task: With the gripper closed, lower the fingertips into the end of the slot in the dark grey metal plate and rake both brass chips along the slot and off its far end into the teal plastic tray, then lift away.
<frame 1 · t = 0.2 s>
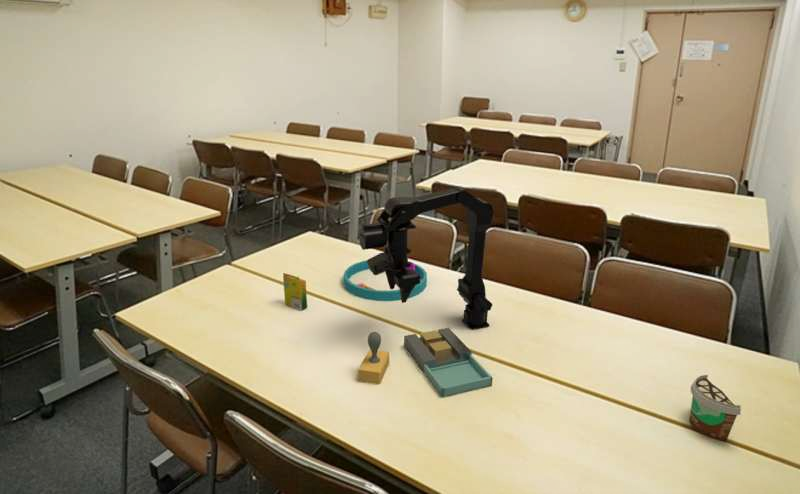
hand: (397, 295, 150), 14 cm above the table, tool pointing down, fingers open, 9 cm apart
rubber stamp: (374, 373, 138), on the table
brass chip a: (430, 341, 149), point 2 cm above the table, touching slotted plate
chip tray: (457, 379, 136), on the table
crayon box: (296, 307, 172), on the table
slotted plate: (436, 354, 147), on the table
teal ring: (385, 284, 191), on the table
brass chip b: (440, 352, 144), point 2 cm above the table, touching slotted plate
food container: (700, 427, 120), on the table
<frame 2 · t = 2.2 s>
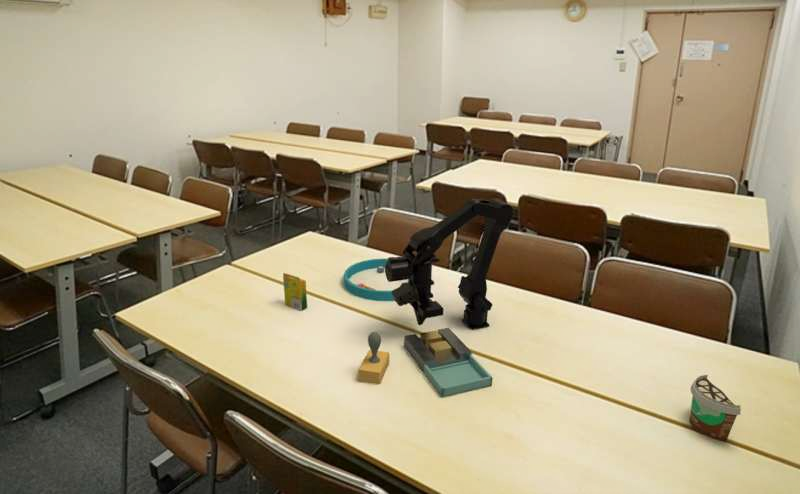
hand: (419, 324, 156), 3 cm above the table, tool pointing down, fingers closed
nothing on the table moved.
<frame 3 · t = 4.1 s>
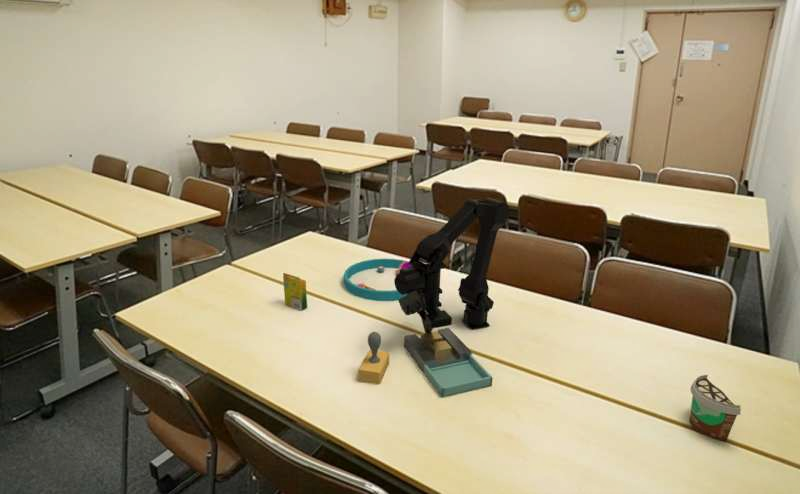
hand: (427, 334, 151), 3 cm above the table, tool pointing down, fingers closed
brass chip a: (431, 342, 149), point 2 cm above the table, touching gripper
everything else where it was.
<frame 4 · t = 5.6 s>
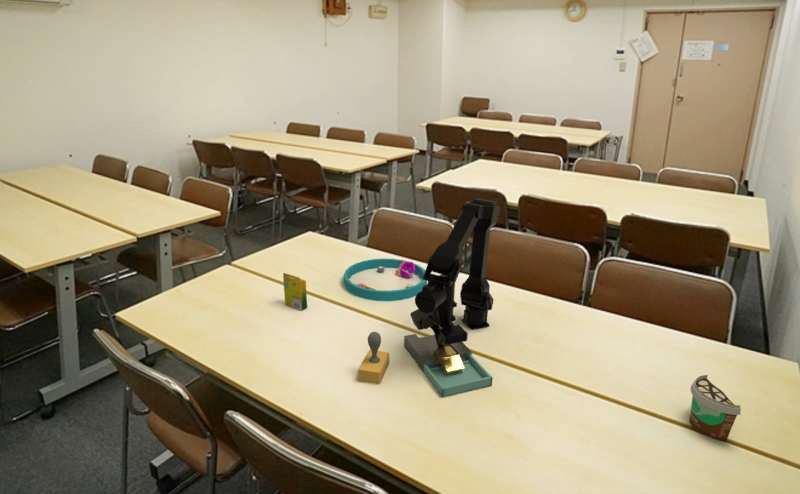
hand: (440, 349, 144), 3 cm above the table, tool pointing down, fingers closed
brass chip a: (444, 357, 142), point 2 cm above the table, touching brass chip b, gripper
brass chip b: (451, 366, 139), point 1 cm above the table, tilted 28°, touching brass chip a
everything else where it was.
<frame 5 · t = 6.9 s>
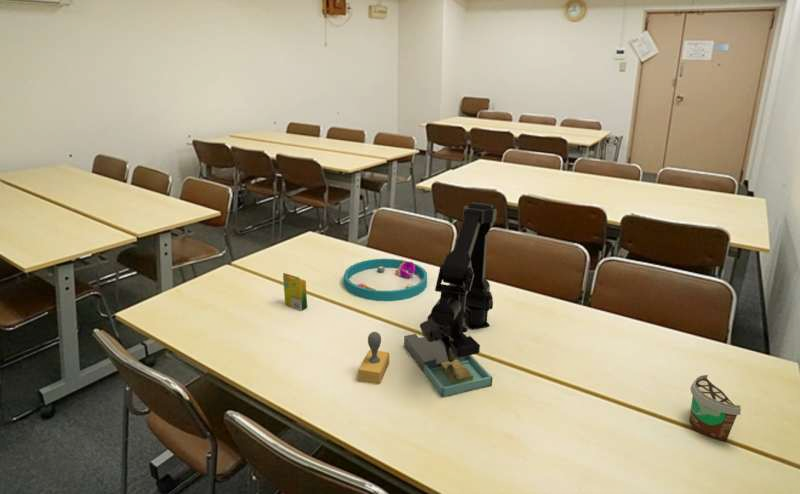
hand: (450, 361, 138), 3 cm above the table, tool pointing down, fingers closed
brass chip a: (452, 371, 138), resting on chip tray
brass chip b: (460, 380, 135), resting on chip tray
everything else where it was.
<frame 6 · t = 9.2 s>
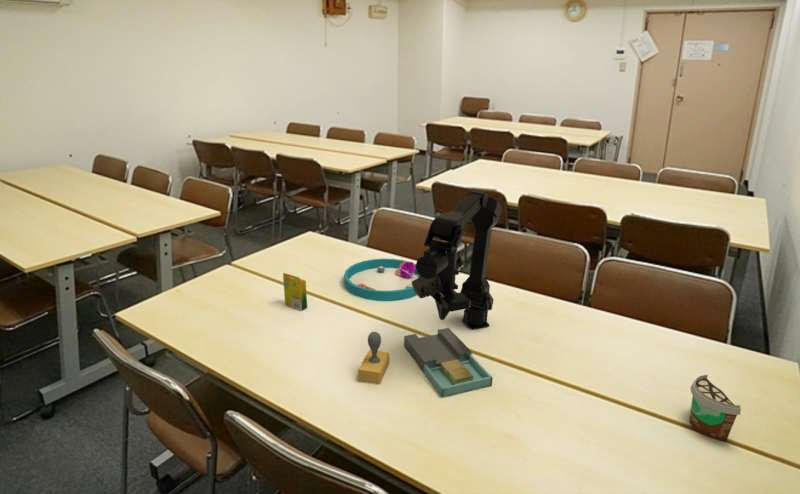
hand: (442, 319, 140), 12 cm above the table, tool pointing down, fingers closed
nothing on the table moved.
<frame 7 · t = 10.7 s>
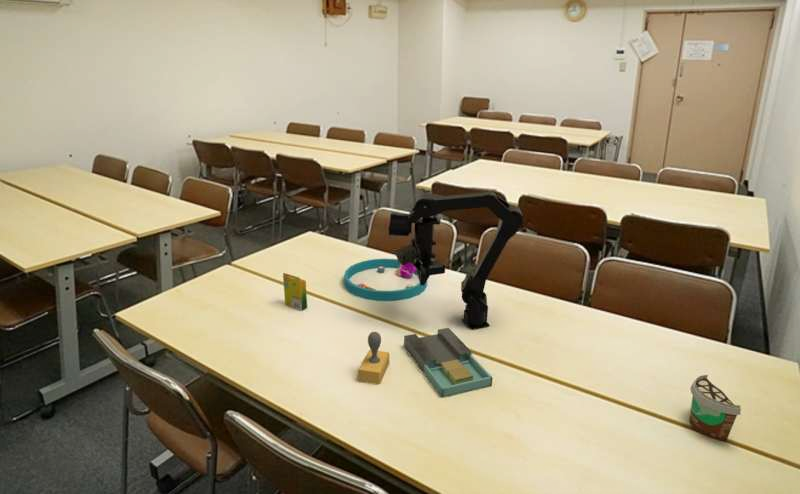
hand: (422, 284, 161), 12 cm above the table, tool pointing down, fingers closed
nothing on the table moved.
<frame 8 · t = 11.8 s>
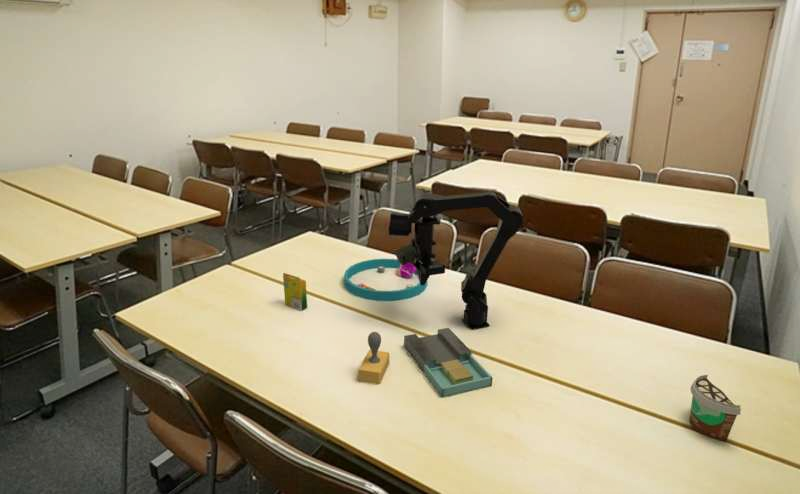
hand: (422, 284, 161), 12 cm above the table, tool pointing down, fingers closed
nothing on the table moved.
at the end: brass chip a inside the target area on the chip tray (3.4 cm from its centre), point 0.5 cm above the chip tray's base; brass chip b inside the target area on the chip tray (0.7 cm from its centre), point 0.5 cm above the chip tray's base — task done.
